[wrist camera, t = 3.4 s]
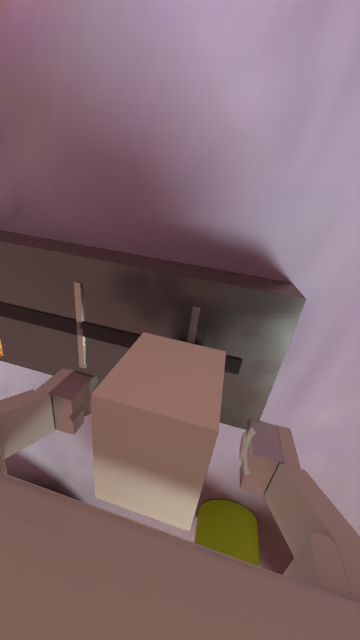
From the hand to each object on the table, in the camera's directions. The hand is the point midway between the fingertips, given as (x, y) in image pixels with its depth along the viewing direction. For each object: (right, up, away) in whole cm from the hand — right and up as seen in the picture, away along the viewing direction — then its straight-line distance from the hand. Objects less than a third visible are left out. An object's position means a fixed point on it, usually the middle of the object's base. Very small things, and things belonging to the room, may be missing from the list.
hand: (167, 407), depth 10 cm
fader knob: (+1, +2, +4) cm, 4 cm away
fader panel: (-5, +4, +7) cm, 10 cm away
